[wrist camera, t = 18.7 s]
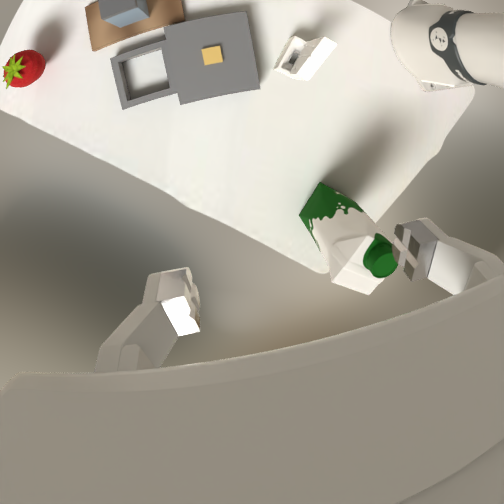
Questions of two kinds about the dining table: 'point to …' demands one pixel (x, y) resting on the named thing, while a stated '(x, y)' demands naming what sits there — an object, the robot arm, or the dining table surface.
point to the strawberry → (23, 68)
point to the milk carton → (348, 240)
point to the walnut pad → (104, 33)
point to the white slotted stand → (304, 57)
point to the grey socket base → (199, 60)
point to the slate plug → (123, 11)
